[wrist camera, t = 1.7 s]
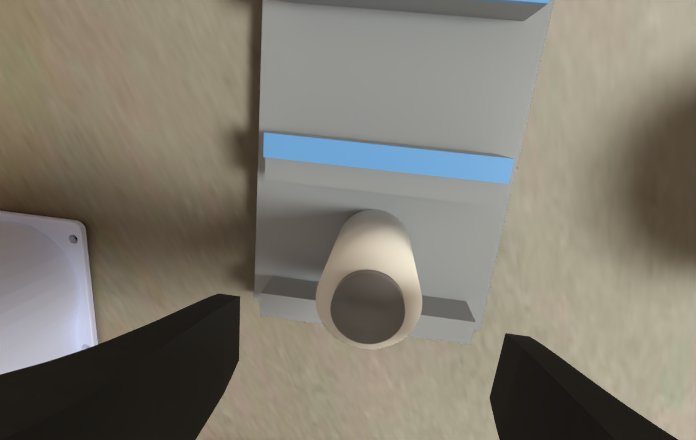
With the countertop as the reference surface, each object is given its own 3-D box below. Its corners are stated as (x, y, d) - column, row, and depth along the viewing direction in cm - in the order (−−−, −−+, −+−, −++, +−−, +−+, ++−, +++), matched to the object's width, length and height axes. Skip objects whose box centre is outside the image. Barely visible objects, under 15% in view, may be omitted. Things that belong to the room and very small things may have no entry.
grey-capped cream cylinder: (404, 282, 18) (415, 367, 12) (334, 272, 18) (308, 351, 12) (414, 213, 17) (432, 266, 11) (341, 205, 18) (316, 252, 11)
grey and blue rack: (475, 321, 20) (492, 359, 16) (260, 291, 20) (237, 323, 17) (548, -13, 15) (591, -48, 12) (270, -33, 16) (242, -72, 13)
